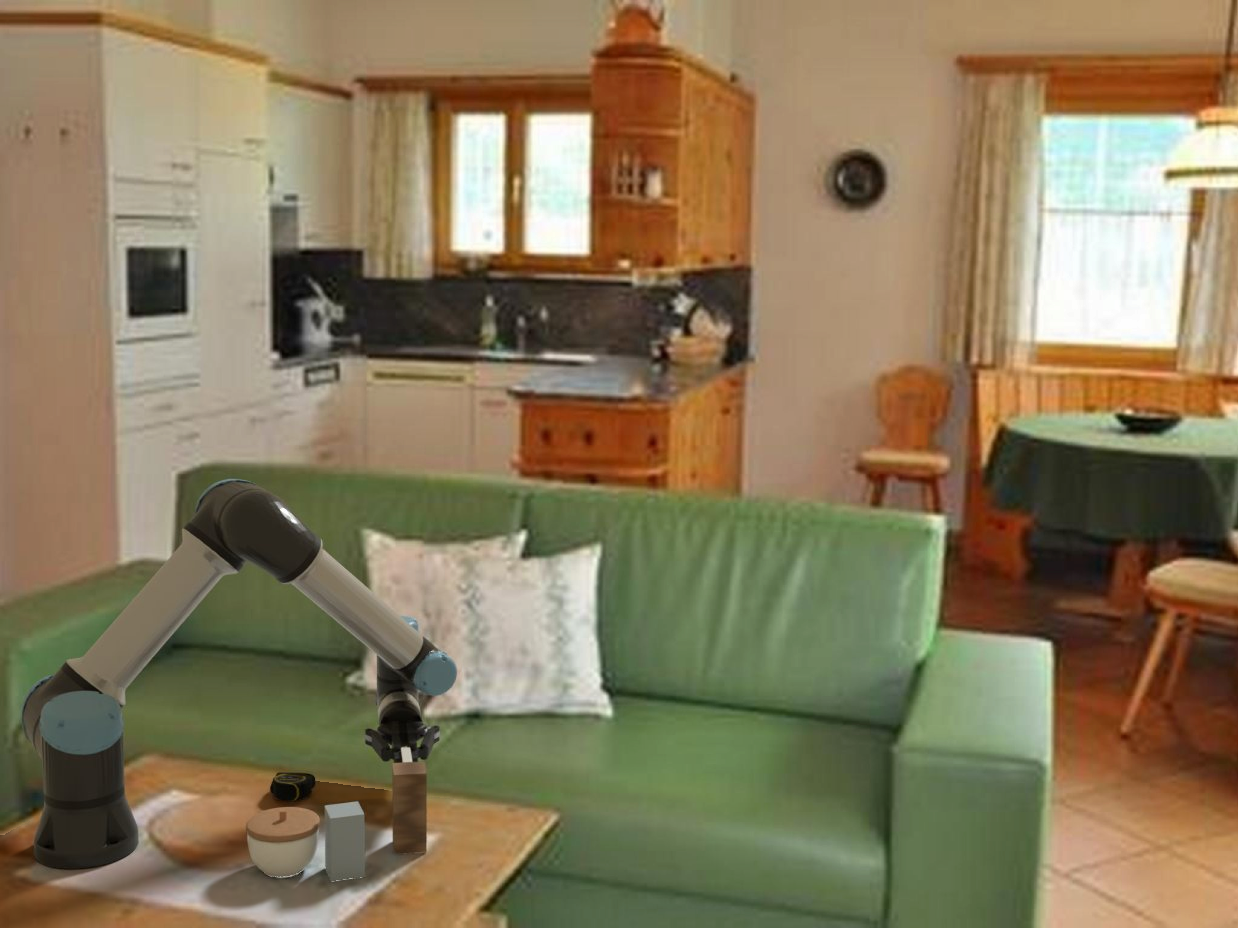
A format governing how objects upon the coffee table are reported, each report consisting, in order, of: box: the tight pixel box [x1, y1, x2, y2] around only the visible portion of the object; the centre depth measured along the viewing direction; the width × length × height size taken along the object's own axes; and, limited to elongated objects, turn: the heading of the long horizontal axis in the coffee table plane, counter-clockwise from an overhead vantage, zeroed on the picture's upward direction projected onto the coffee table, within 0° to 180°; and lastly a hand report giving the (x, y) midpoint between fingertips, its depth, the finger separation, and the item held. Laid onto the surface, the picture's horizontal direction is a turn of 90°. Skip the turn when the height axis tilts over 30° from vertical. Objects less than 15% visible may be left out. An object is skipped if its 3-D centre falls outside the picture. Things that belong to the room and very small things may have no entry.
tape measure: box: [269, 771, 316, 802], centre depth 239 cm, size 7×7×4 cm
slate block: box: [324, 800, 366, 882], centre depth 211 cm, size 5×5×10 cm
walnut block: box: [391, 760, 428, 855], centre depth 220 cm, size 5×5×13 cm
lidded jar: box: [245, 806, 321, 877], centre depth 212 cm, size 11×11×9 cm
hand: (407, 769), depth 226 cm, fingers closed
